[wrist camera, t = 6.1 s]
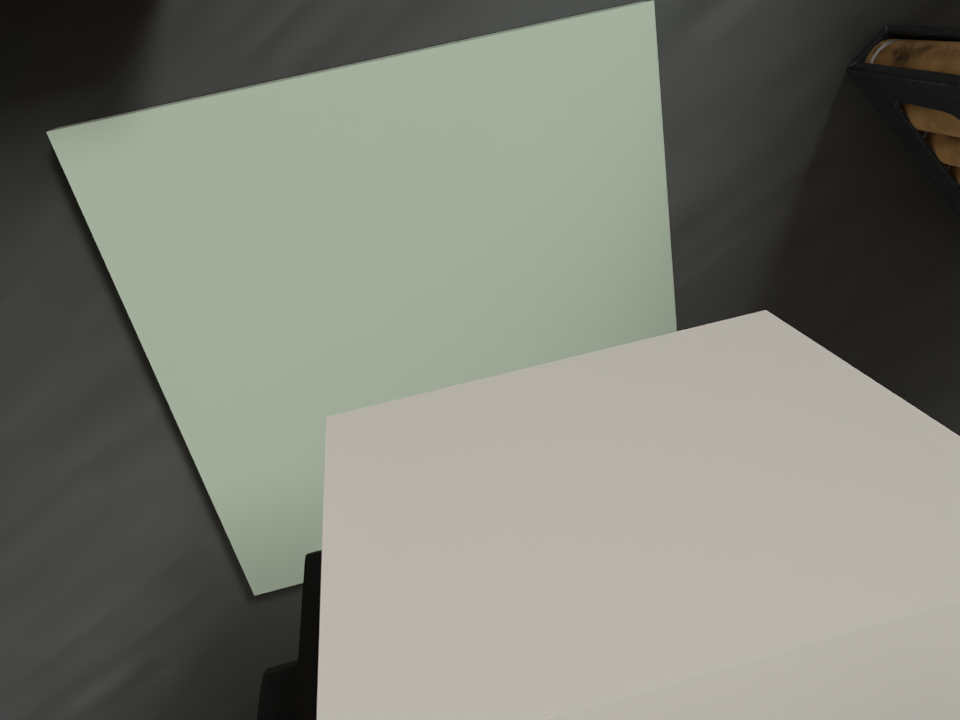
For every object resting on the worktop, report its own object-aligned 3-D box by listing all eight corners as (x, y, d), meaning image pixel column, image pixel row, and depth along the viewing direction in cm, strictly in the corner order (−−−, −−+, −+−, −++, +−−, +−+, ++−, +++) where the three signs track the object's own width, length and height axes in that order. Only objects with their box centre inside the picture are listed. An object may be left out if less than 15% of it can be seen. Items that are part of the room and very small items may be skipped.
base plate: (641, 1, 22) (654, 0, 21) (677, 467, 30) (687, 481, 30) (58, 127, 21) (46, 131, 20) (257, 578, 29) (254, 595, 28)
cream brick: (765, 309, 10) (1136, 551, 5) (765, 629, 12) (1010, 971, 8) (326, 416, 9) (314, 784, 5) (424, 726, 12) (477, 1152, 7)
